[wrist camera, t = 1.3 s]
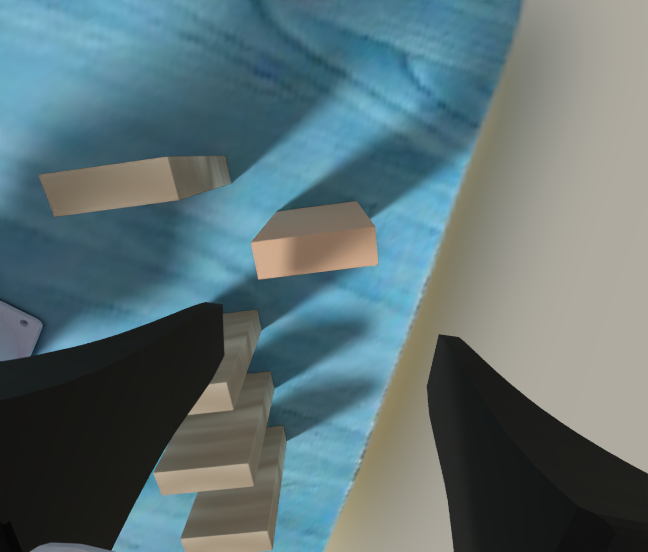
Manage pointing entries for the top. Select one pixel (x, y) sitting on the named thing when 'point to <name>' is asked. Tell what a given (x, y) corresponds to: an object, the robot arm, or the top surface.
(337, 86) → the top surface
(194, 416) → the domino
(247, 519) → the domino
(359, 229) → the domino
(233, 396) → the domino
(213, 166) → the domino
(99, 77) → the top surface
